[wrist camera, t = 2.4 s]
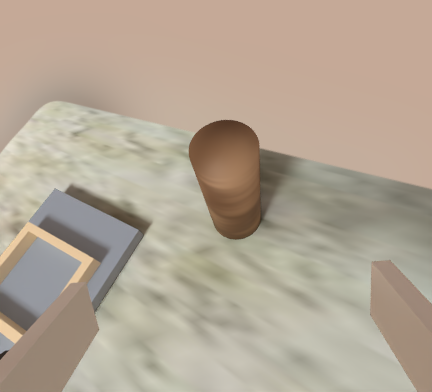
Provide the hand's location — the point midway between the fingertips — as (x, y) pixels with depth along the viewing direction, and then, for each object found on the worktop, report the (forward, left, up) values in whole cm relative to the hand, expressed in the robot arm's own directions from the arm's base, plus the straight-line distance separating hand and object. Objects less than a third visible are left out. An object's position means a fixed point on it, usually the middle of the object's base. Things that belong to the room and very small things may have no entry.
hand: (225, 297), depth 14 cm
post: (+5, -9, -15) cm, 18 cm away
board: (+19, +6, -15) cm, 25 cm away
